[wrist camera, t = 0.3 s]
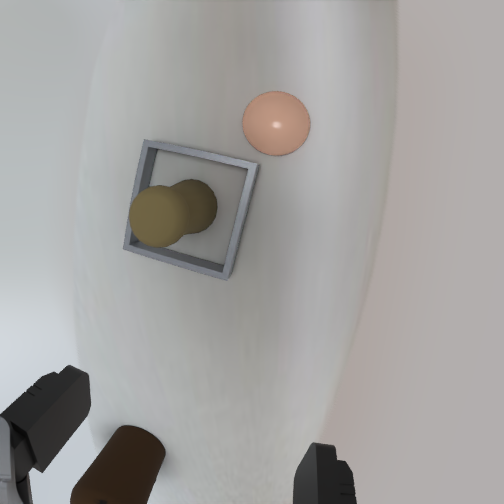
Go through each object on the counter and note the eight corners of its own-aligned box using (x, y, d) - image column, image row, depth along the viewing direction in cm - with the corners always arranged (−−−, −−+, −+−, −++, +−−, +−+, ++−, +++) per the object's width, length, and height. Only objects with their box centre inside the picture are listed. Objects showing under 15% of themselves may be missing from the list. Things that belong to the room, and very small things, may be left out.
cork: (197, 168, 34) (159, 165, 23) (228, 214, 35) (201, 230, 24) (155, 199, 35) (105, 209, 25) (184, 243, 36) (144, 270, 25)
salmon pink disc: (252, 86, 31) (252, 85, 31) (316, 102, 31) (316, 100, 30) (236, 146, 33) (235, 146, 32) (300, 163, 33) (300, 162, 32)
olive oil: (103, 419, 45) (30, 521, 21) (157, 425, 43) (92, 549, 19) (126, 459, 47) (71, 557, 23) (177, 466, 45) (131, 579, 21)
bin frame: (153, 141, 34) (144, 139, 31) (259, 164, 33) (257, 163, 31) (132, 244, 37) (123, 249, 34) (231, 274, 36) (227, 280, 34)
